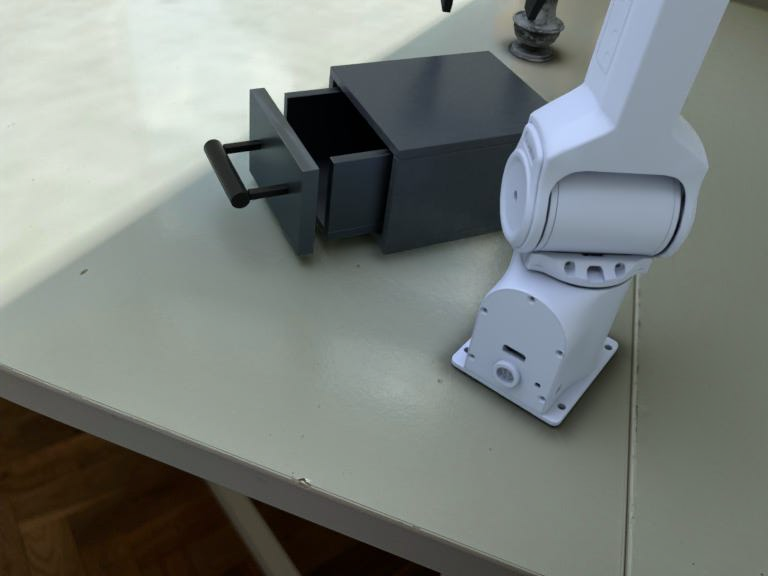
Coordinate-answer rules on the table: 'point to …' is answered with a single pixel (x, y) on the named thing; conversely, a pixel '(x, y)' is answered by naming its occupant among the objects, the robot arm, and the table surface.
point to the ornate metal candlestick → (536, 33)
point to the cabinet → (441, 140)
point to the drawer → (310, 166)
